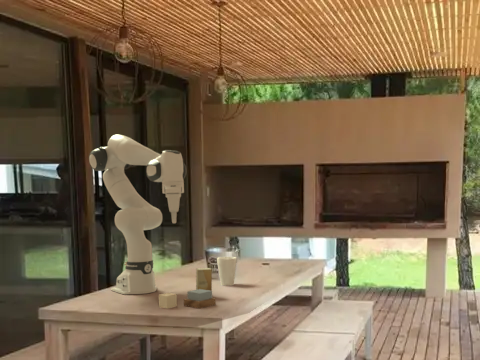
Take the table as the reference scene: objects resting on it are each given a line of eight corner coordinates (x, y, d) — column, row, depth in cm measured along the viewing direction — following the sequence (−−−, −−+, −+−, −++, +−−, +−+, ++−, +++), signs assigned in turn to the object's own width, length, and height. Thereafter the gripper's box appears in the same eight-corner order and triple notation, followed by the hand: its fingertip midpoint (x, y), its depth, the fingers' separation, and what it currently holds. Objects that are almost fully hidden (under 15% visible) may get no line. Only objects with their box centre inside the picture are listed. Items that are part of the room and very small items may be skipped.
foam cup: (215, 283, 276) (215, 257, 276) (233, 282, 278) (233, 256, 278) (220, 287, 266) (220, 259, 267) (239, 285, 269) (238, 258, 269)
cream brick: (158, 307, 224) (158, 294, 224) (168, 305, 227) (168, 292, 228) (167, 308, 220) (166, 296, 220) (176, 306, 224) (176, 294, 224)
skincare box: (197, 298, 240) (197, 269, 240) (195, 296, 244) (195, 268, 244) (212, 297, 242) (212, 268, 242) (210, 295, 246) (209, 267, 246)
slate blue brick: (187, 299, 226) (187, 291, 226) (200, 296, 231) (200, 288, 231) (199, 301, 221) (199, 293, 221) (212, 298, 226) (212, 290, 226)
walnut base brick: (184, 306, 226) (183, 299, 226) (200, 303, 232) (200, 295, 232) (199, 309, 220) (199, 302, 220) (215, 305, 226) (215, 298, 226)
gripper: (165, 189, 241) (166, 221, 241) (165, 188, 221) (166, 224, 220) (180, 189, 242) (181, 221, 241) (181, 188, 221) (182, 223, 221)
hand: (174, 222), depth 231 cm, fingers open, 8 cm apart
